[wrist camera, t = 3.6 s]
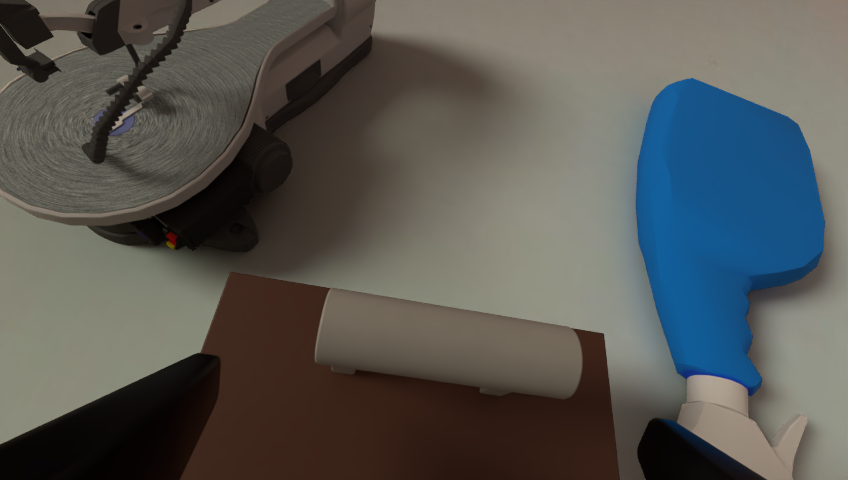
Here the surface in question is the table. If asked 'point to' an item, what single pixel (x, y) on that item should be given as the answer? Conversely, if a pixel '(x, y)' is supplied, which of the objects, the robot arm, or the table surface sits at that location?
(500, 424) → the lid
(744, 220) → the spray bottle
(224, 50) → the scroll saw
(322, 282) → the table surface
